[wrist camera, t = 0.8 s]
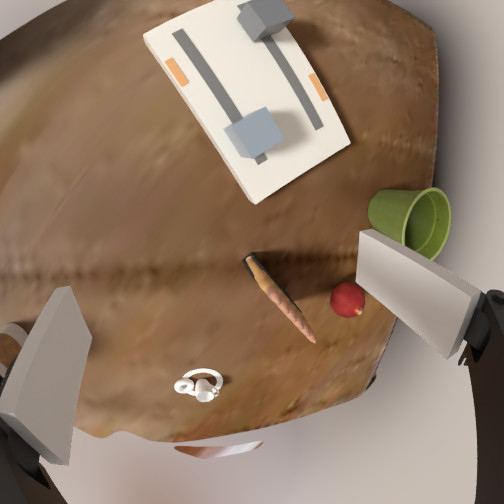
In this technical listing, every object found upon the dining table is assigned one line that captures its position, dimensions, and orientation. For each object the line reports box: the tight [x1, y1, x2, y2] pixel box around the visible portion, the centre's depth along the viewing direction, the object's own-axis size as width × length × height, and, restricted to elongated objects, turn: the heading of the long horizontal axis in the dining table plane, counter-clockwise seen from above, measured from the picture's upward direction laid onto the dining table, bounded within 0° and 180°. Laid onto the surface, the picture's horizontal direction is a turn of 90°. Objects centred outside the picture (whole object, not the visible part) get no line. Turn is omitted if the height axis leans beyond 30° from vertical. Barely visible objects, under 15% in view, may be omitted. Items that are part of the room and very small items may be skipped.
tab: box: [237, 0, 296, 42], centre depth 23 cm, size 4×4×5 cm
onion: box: [330, 282, 365, 318], centre depth 43 cm, size 6×6×8 cm
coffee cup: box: [0, 323, 28, 386], centre depth 26 cm, size 8×8×15 cm
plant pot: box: [368, 188, 451, 261], centre depth 38 cm, size 12×12×11 cm
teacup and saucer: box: [175, 368, 223, 402], centre depth 45 cm, size 9×8×4 cm
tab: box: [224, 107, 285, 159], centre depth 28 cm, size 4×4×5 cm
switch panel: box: [143, 0, 350, 204], centre depth 30 cm, size 26×16×3 cm, turn 31°
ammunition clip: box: [242, 253, 317, 343], centre depth 37 cm, size 11×2×12 cm, turn 37°
